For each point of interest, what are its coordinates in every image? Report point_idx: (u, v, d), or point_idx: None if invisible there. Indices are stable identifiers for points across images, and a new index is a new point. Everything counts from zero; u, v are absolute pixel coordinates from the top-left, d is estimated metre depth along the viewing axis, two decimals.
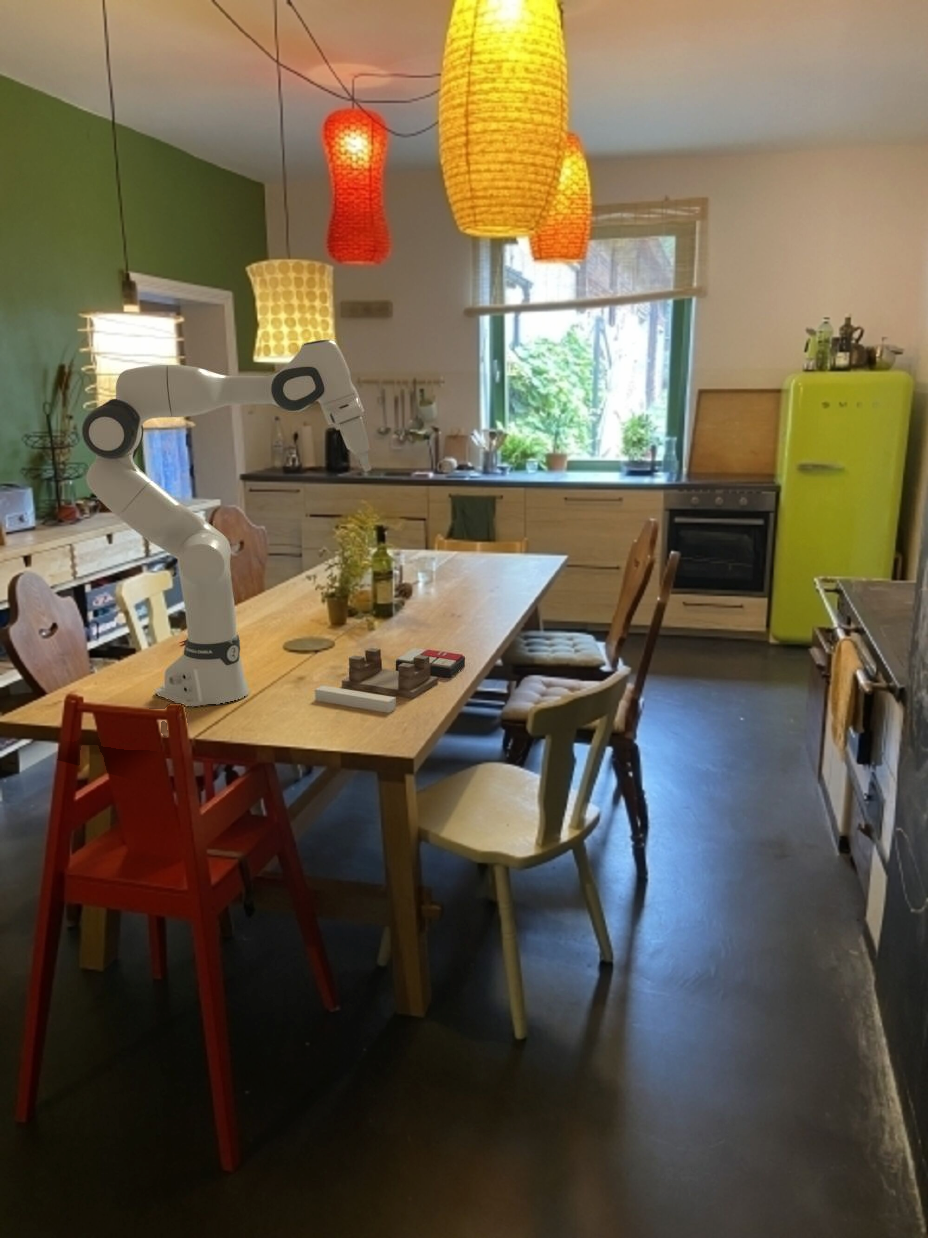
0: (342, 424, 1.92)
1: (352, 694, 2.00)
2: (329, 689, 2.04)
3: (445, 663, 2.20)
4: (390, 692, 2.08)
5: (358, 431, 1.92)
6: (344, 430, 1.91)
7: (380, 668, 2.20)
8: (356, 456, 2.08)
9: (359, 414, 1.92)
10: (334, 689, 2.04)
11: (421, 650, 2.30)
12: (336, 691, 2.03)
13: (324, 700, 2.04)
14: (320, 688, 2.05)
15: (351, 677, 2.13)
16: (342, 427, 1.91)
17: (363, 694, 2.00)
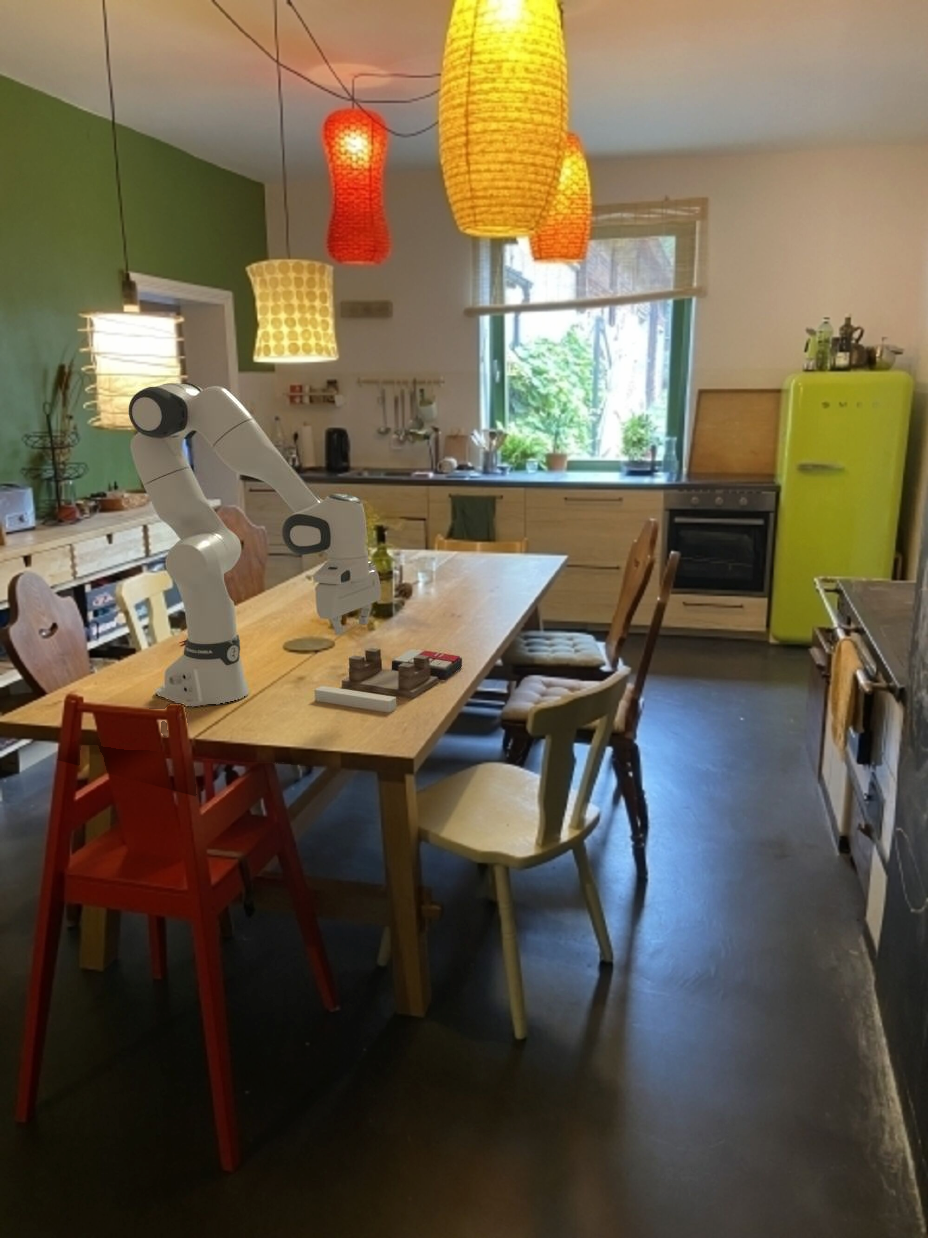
0: (318, 585, 1.88)
1: (352, 694, 2.00)
2: (328, 690, 2.04)
3: (440, 664, 2.19)
4: (390, 692, 2.08)
5: (326, 599, 1.86)
6: (316, 591, 1.88)
7: (380, 668, 2.20)
8: (362, 611, 2.01)
9: (335, 583, 1.86)
10: (334, 689, 2.04)
11: (418, 651, 2.29)
12: (336, 691, 2.03)
13: (324, 700, 2.04)
14: (320, 688, 2.05)
15: (351, 677, 2.13)
16: (316, 588, 1.88)
17: (363, 694, 2.00)
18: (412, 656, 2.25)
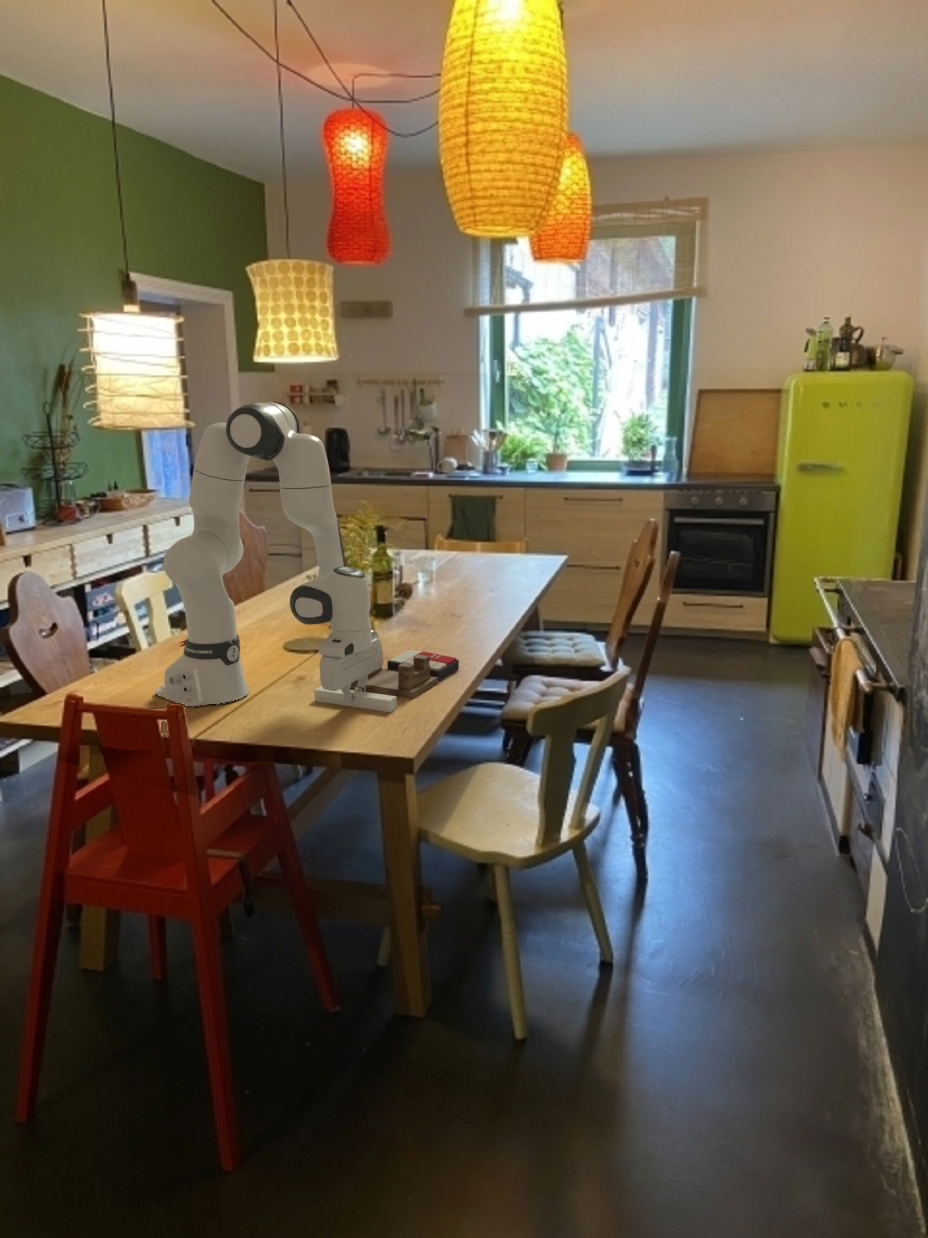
0: (323, 657, 1.92)
1: None
2: (328, 690, 2.03)
3: (434, 666, 2.18)
4: (390, 692, 2.08)
5: (329, 672, 1.91)
6: (320, 664, 1.92)
7: (380, 668, 2.20)
8: (359, 681, 2.04)
9: (339, 657, 1.90)
10: None
11: (417, 652, 2.29)
12: (336, 691, 2.02)
13: (324, 700, 2.03)
14: (319, 688, 2.04)
15: None
16: (320, 660, 1.92)
17: (363, 694, 2.00)
18: (409, 657, 2.25)
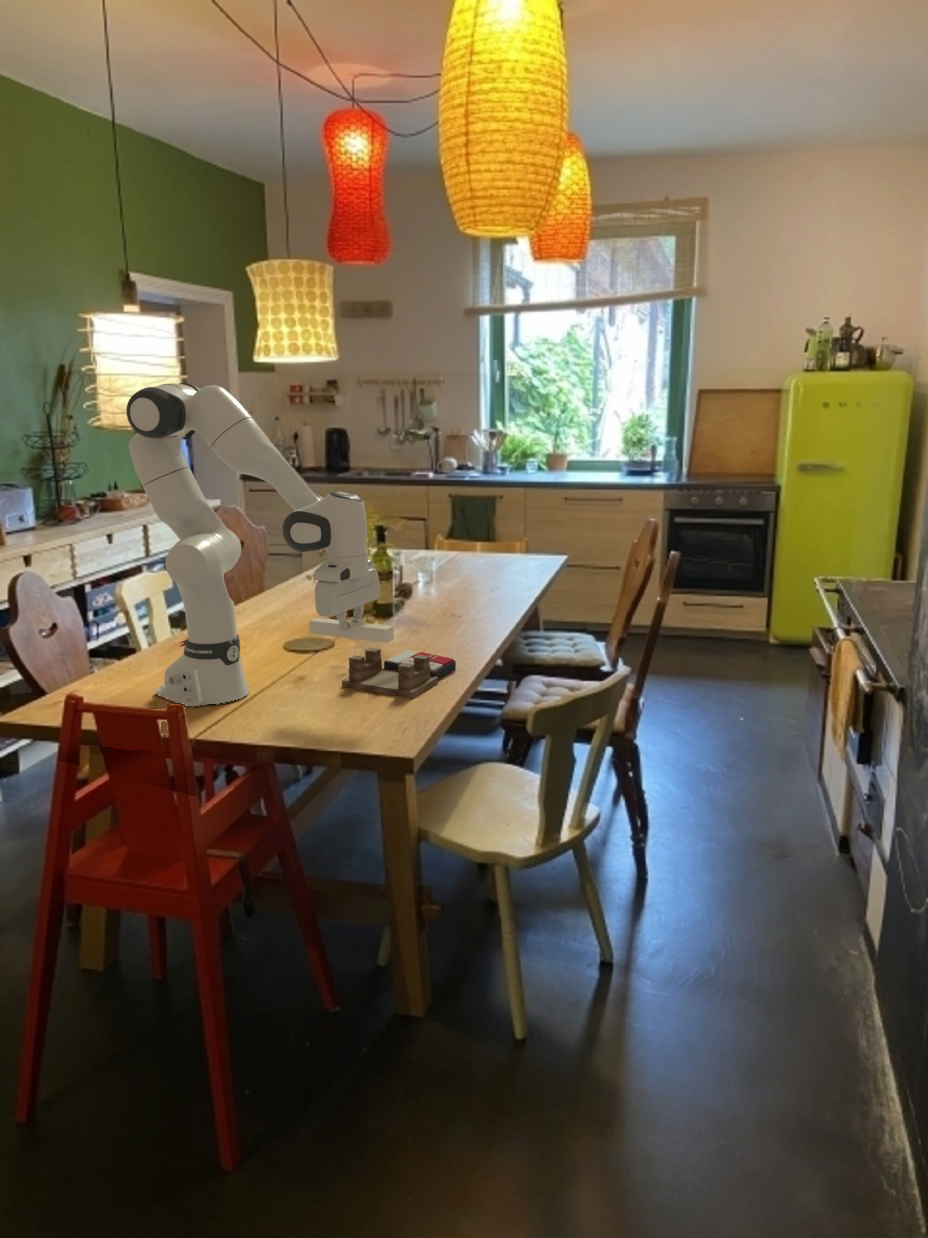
0: (318, 582, 1.88)
1: None
2: (324, 621, 1.99)
3: (430, 666, 2.17)
4: (390, 692, 2.08)
5: (325, 597, 1.86)
6: (315, 589, 1.87)
7: (380, 668, 2.20)
8: (355, 611, 1.99)
9: (334, 581, 1.86)
10: (329, 620, 1.99)
11: (414, 652, 2.28)
12: (331, 622, 1.98)
13: (319, 631, 1.99)
14: (314, 619, 2.00)
15: (351, 677, 2.13)
16: (316, 585, 1.88)
17: (359, 624, 1.96)
18: (405, 657, 2.25)
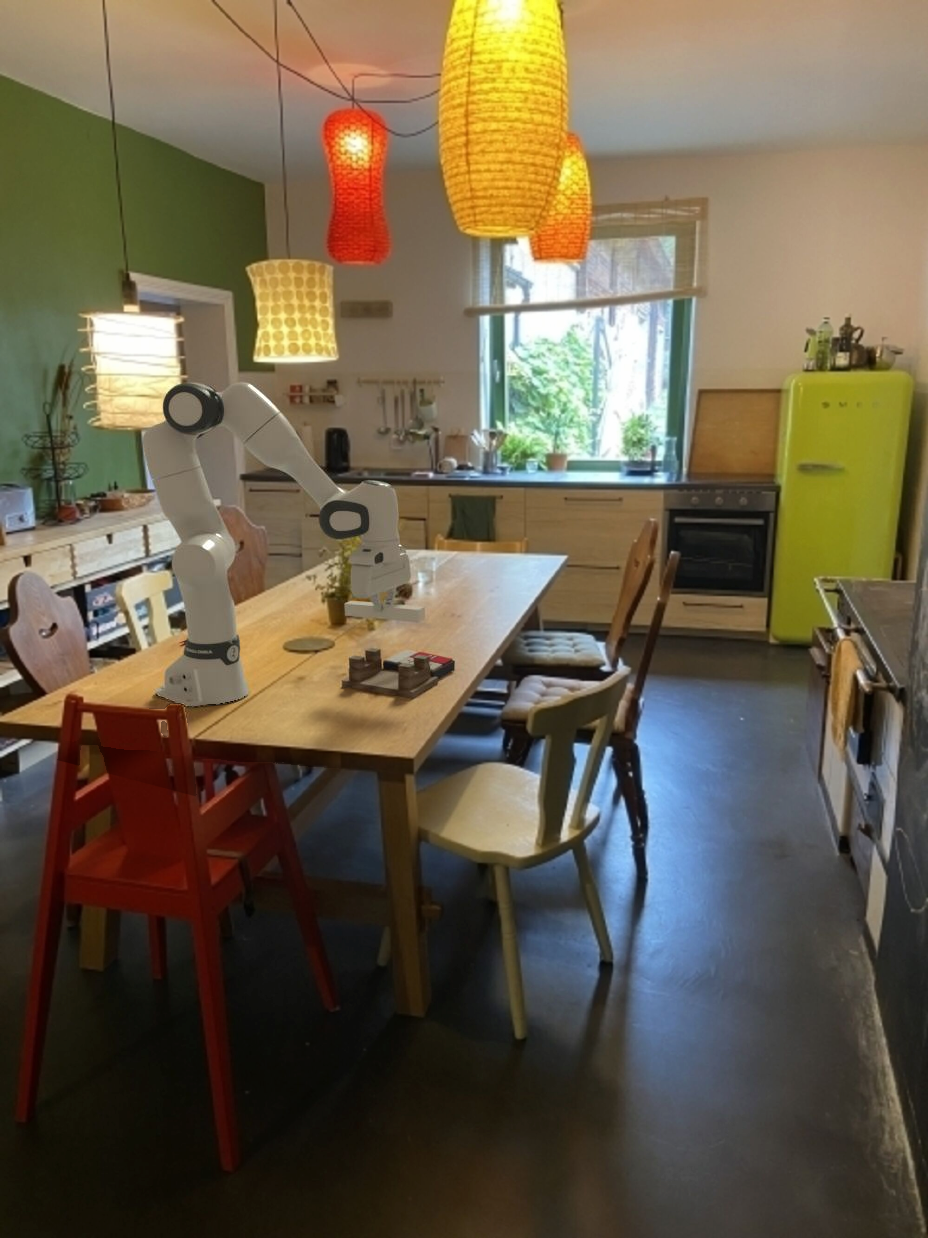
0: (353, 566, 1.99)
1: None
2: (358, 603, 2.10)
3: None
4: (390, 692, 2.08)
5: (360, 579, 1.97)
6: (351, 572, 1.98)
7: (380, 668, 2.20)
8: (387, 594, 2.10)
9: (369, 564, 1.97)
10: (363, 603, 2.10)
11: (413, 652, 2.28)
12: (365, 604, 2.09)
13: (354, 613, 2.10)
14: (349, 602, 2.11)
15: (351, 677, 2.13)
16: (351, 569, 1.98)
17: (392, 605, 2.07)
18: (405, 657, 2.25)
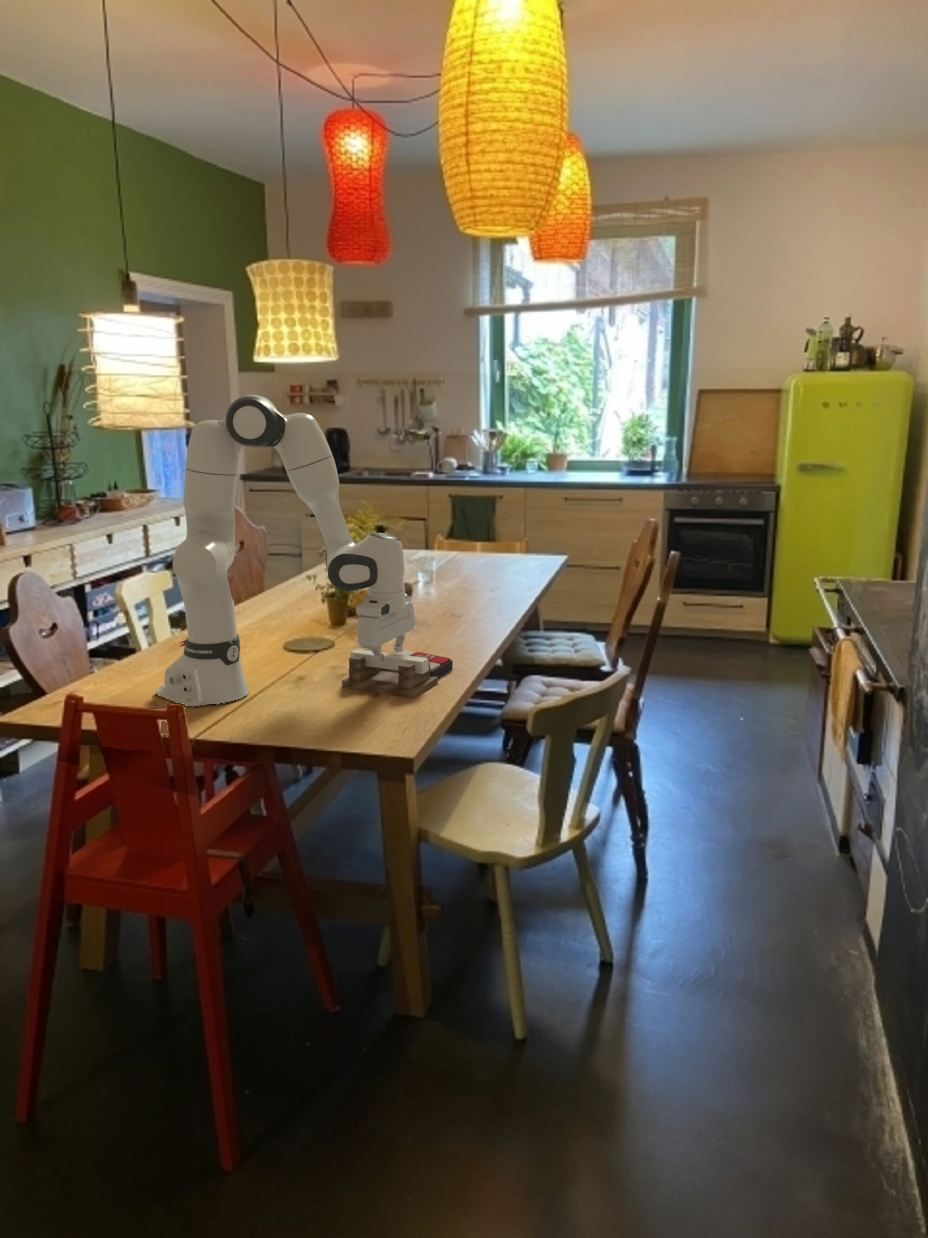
0: (360, 617, 2.03)
1: (387, 656, 2.12)
2: (364, 652, 2.15)
3: None
4: (390, 692, 2.08)
5: (367, 630, 2.02)
6: (358, 623, 2.03)
7: (380, 668, 2.20)
8: (397, 640, 2.17)
9: (375, 616, 2.01)
10: (369, 652, 2.15)
11: (410, 652, 2.29)
12: (371, 653, 2.14)
13: None
14: (355, 651, 2.16)
15: (351, 677, 2.13)
16: (358, 620, 2.03)
17: (397, 656, 2.12)
18: None
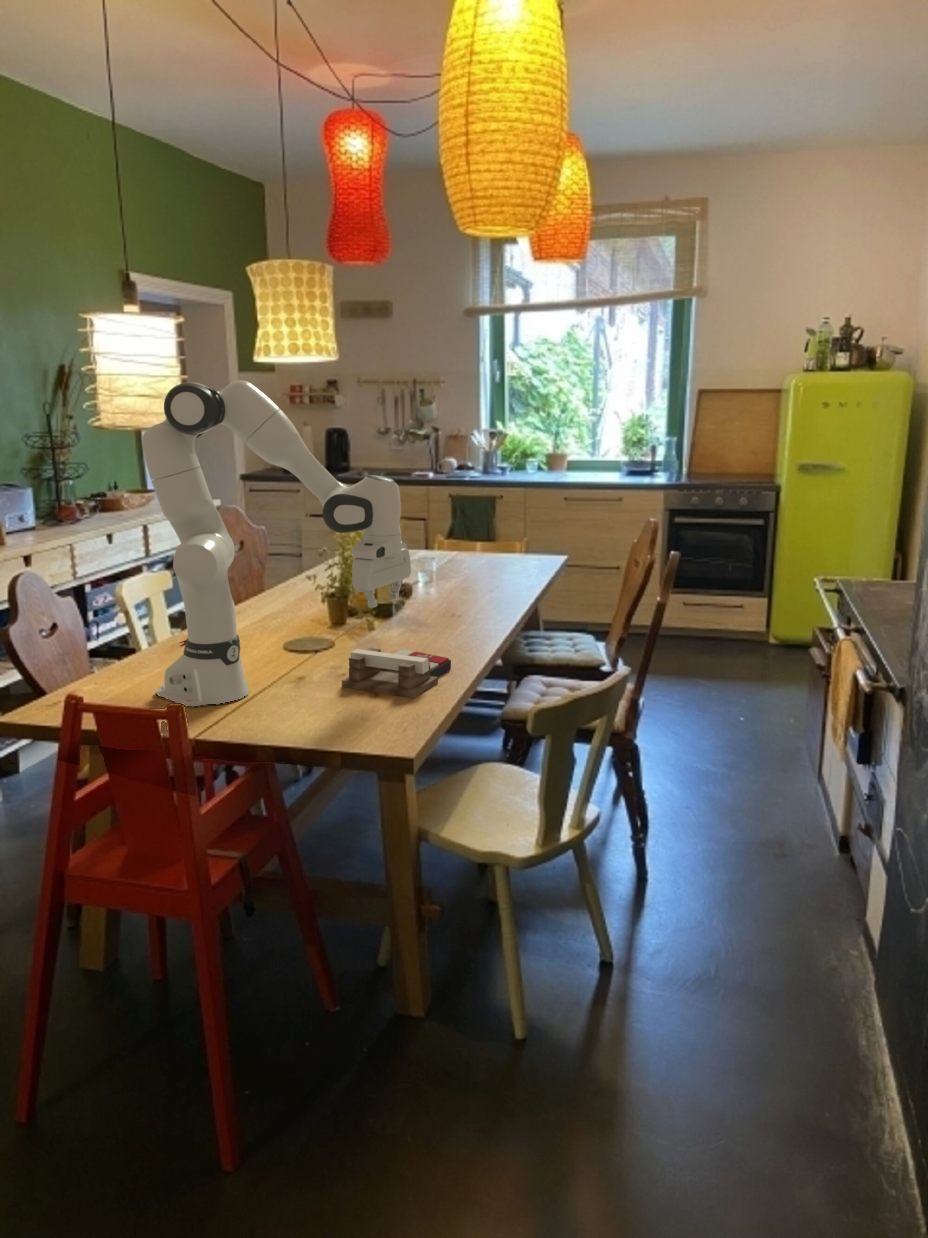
0: (355, 559, 2.01)
1: (387, 656, 2.12)
2: (364, 652, 2.15)
3: None
4: (390, 692, 2.08)
5: (362, 572, 1.99)
6: (352, 566, 2.00)
7: (380, 668, 2.20)
8: (393, 586, 2.14)
9: (371, 558, 1.99)
10: (369, 652, 2.15)
11: (409, 652, 2.29)
12: (371, 653, 2.14)
13: None
14: (355, 651, 2.16)
15: (351, 677, 2.13)
16: (353, 562, 2.00)
17: (397, 656, 2.12)
18: None
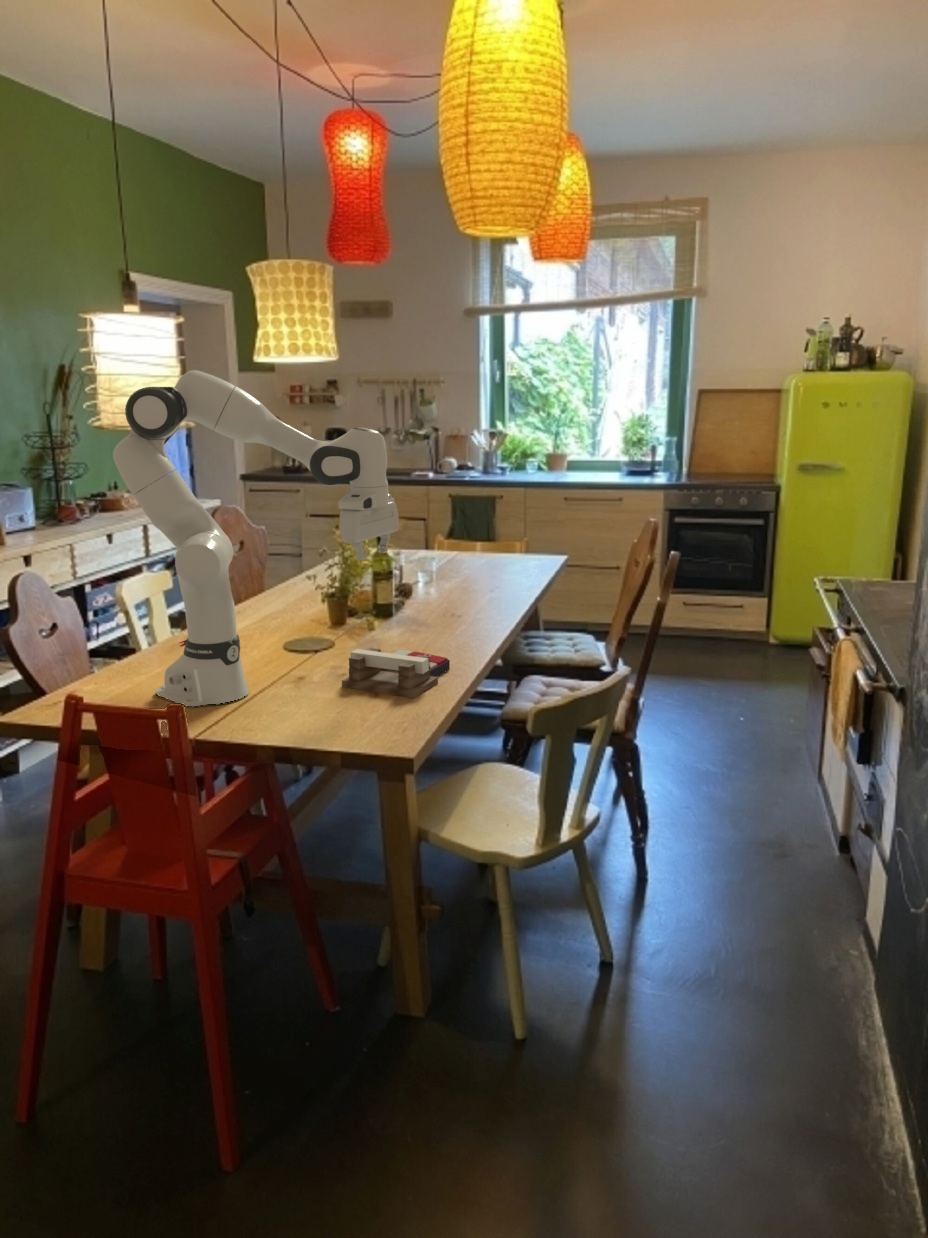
0: (342, 511, 2.01)
1: (387, 656, 2.12)
2: (364, 652, 2.15)
3: None
4: (390, 692, 2.08)
5: (349, 523, 2.00)
6: (340, 517, 2.01)
7: (380, 668, 2.20)
8: (381, 540, 2.15)
9: (358, 509, 1.99)
10: (369, 652, 2.15)
11: (408, 652, 2.29)
12: (371, 653, 2.14)
13: None
14: (355, 651, 2.16)
15: (351, 677, 2.13)
16: (340, 514, 2.01)
17: (397, 656, 2.12)
18: None
